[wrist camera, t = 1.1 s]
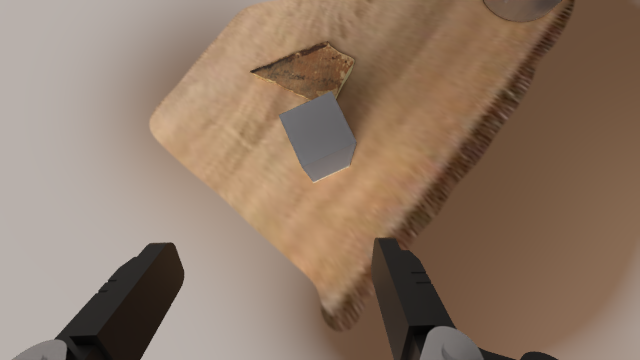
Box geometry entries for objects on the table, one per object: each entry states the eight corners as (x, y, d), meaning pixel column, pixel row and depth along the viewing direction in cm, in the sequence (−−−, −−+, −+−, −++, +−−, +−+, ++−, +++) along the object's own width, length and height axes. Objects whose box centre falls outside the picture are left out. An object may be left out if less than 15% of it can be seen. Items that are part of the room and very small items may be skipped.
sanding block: (333, 131, 29) (331, 90, 19) (349, 166, 28) (357, 142, 18) (297, 147, 29) (277, 114, 19) (313, 183, 28) (301, 167, 18)
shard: (253, 78, 31) (248, 70, 29) (282, 28, 32) (279, 17, 30) (329, 114, 30) (329, 108, 28) (358, 61, 30) (359, 52, 29)
